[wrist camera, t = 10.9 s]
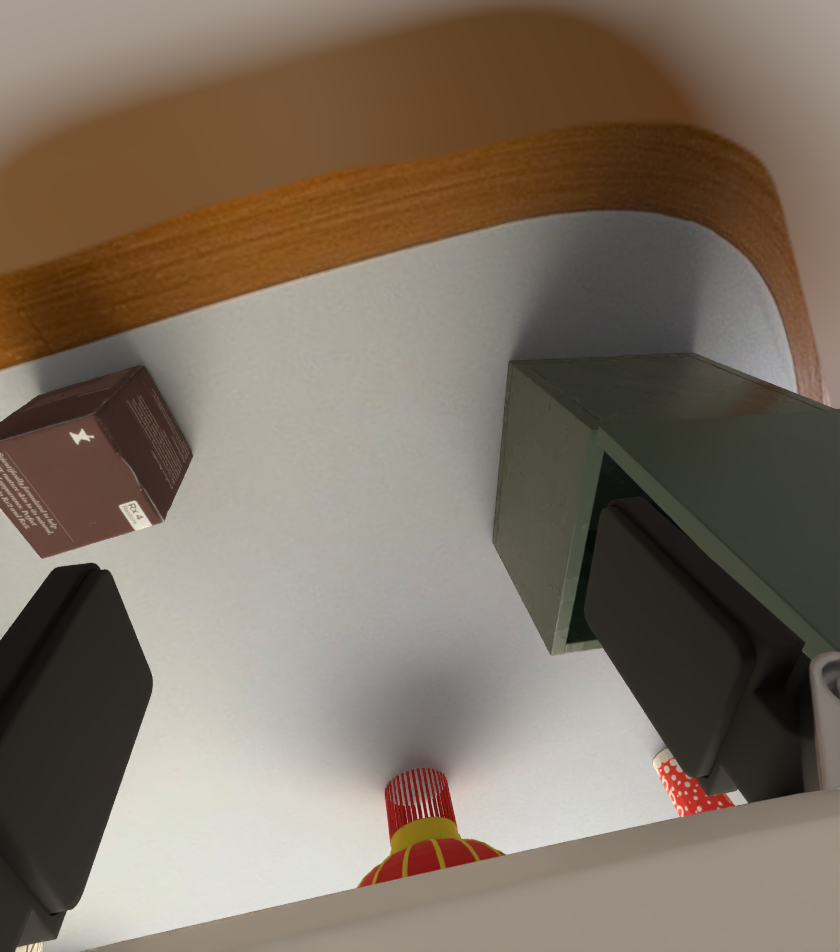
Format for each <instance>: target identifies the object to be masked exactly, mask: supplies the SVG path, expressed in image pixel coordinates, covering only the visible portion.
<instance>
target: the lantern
mask: <svg viewBox="0 0 840 952" xmlns="http://www.w3.org/2000/svg"><path fill="white" fill-rule="evenodd" d="M422 770H423V776H424V781H425V787H426V792H427V798H428V805H429V811H430V816H431V817H428V814H427V808H426V803H425V797H424V792H423V786H422V780H421V775H420V769H419V768H417V773H418V779H419V785H420V790H421V796H422V802H423V808H424V814H425V818H423V817H422V811H421V805H420V802H419V796H418V790H417V784H416V778H415V772H414V769H413V770H411V771H412V777H413V783H414V790H415V796H416V802H417V808H418V814H419V819H417V813H416V807H415V805H414V802H413V796H412V789H411V783H410V777H409V771H406V776H407V782H408V789H409V795H410V802H411V808H410V806H408V800H407V793H406V787H405V780H404V773H401V777H402V784H403V791H404V798H405V805H406V810H405V806H403V802H402V795H401V788H400V782H399V775H397V776H396V778H397V786H398V793H399V801H400V805H398V801H397V793H396V786H395V779H393V786H394V794H395V802H396V804H394V801H393V793H392V785H391V781H390V782H389V785H387V788H385V800H386V809H387V818H388V827H389V835H390V844H391V849H392V850H391V853H390V855H389V856H388V857H387V858H386V859H385V860H384V861H383V862H382V863H381V864H380V865H378V866H376V867H375V868H374V869H372V870H371V871H370V872H369V873H368V874H367V875H366V876H365V877H364V878H363V879H362V881H361V882H360V884H359V885H358V887H357V888H360V887H364V886H369V885H373V884H378V883H382V882H387V881H391V880H396V879H400V878H405V877H409V876H414V875H418V874H423V873H427V872H432V871H436V870H441V869H445V868H450V867H454V866H459V865H463V864H468V863H472V862H477V861H481V860H486V859H490V858H495V857H500V856H504V855H506V854H504V853H503V852H501V851H499V850H496V849H494V848H492V847H491V846H489V845H487V844H486V843H483V842H480V841H477V840H474V839H461V837H460V835H459V834H458V830H457V824H456V820H455V815H454V811H453V806H452V802H451V797H450V793H449V788H448V784H447V780H446V778H445V776H444V774H443V777H442V773H441V772H440V776H441V781H442V785H443V790H442V786H441V781H440V776H439V771H438V770H437V775H438V780H439V785H440V790H441V793H440V794H439V789H438V785H437V780H436V775H435V770H434V769H432V772H433V777H434V781H435V786H436V791H437V796H436V797H437V802H438V807H439V812H440V817H439V813H438V808H437V803H436V798H435V793H434V788H433V783H432V778H431V773H430V768H428V773H429V779H430V784H431V789H432V794H433V799H432V800H433V805H434V810H435V816H436V817H434V814H433V809H432V804H431V798H430V793H429V788H428V783H427V777H426V772H425V768H422ZM443 778H444V782H443ZM444 783H445V786H444ZM389 787H390V793H389ZM387 790H388V795H387ZM390 795H391V801H390ZM440 797H441V799H440ZM388 799H389V800H388ZM441 802H442V804H441ZM394 806H395V809H394ZM398 807H399V808H398ZM442 807H443V809H442ZM391 808H392V809H391ZM411 809H412V815H413V821H412V815H411ZM406 812H407V816H406ZM443 812H444V814H443ZM395 814H396V816H395ZM399 814H400V816H399ZM444 817H445V818H444ZM407 819H408V823H407ZM396 822H397V824H396ZM400 822H401V823H400Z"/></svg>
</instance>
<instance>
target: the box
mask: <svg viewBox="0 0 840 952" xmlns="http://www.w3.org/2000/svg"><path fill="white" fill-rule="evenodd" d="M192 458H193V454H192V452H191V450H190V449H189V447H188V445H187V443H186V441H185V439H184V438H183V436H182V434H181V432H180V430H179V428H178V426H177V425H176V423H175V421H174V419H173V417H172V415H171V413H170V412H169V410H168V408H167V406H166V404H165V402H164V401H163V399H162V397H161V395H160V393H159V391H158V389H157V388H156V386H155V384H154V382H153V380H152V379H151V377H150V375H149V373H148V371H147V369H146V368H145V366H143V365H142V366H136V367H133V368H129V369H126V370H123V371H119V372H116V373H112V374H109V375H106V376H103V377H99V378H96V379H92V380H89V381H85V382H82V383H78V384H75V385H72V386H68V387H65V388H61V389H58V390H55V391H51V392H48V393H45V394H41V395H38V396H37V397H35V398H34V399H32V400H31V401H30V402H28V403H27V404H26V405H24V406H22V407H21V408H20V409H18V410H17V411H15V412H14V413H12V414H11V415H10V416H8V417H7V418H6V419H4V420H3V421H2V422H0V508H1V509H2V511H3V512H4V513H5V514H6V516H7V517H8V518H9V519H10V520H11V522H12V523H13V524H14V525H15V526H16V528H17V529H18V530H19V531H20V533H21V534H22V535H23V537H24V538H25V539H26V540H27V541H28V543H29V544H30V545H31V546H32V548H33V549H34V550H35V551H36V552H37V554H38V555H39V556H40V557H41V558H47V557H50V556H54V555H57V554H60V553H63V552H67V551H70V550H73V549H77V548H80V547H83V546H86V545H90V544H93V543H96V542H99V541H103V540H106V539H109V538H113V537H116V536H119V535H123V534H126V533H129V532H133V531H137V530H140V529H143V528H146V527H149V526H153V525H156V524H159V523H163V522H164V521H165V518H166V516H167V512H168V510H169V509H170V507H171V505H172V502H173V500H174V497H175V495H176V493H177V491H178V489H179V487H180V484H181V482H182V480H183V478H184V475H185V473H186V471H187V469H188V467H189V464H190V462H191V460H192Z"/></svg>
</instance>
